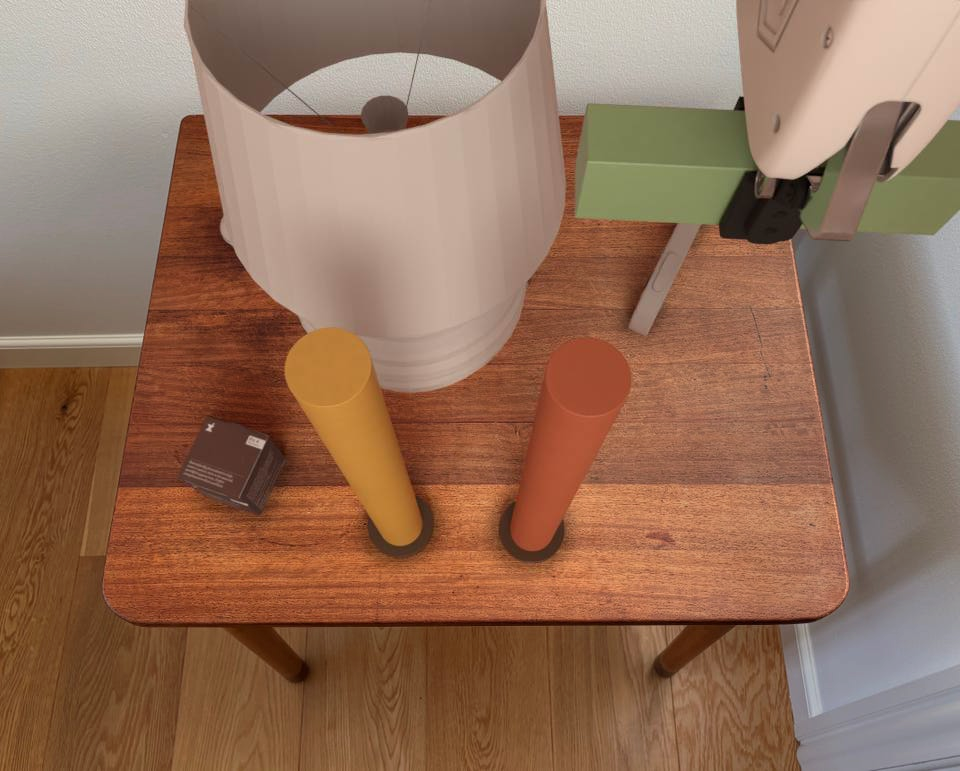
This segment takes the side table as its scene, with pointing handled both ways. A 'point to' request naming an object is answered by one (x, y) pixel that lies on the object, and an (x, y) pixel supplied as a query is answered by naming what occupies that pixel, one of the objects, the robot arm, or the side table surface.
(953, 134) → the green bar
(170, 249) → the side table surface
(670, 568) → the side table surface
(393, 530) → the ochre rod
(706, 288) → the side table surface
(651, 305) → the grey flat slab
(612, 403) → the terracotta rod
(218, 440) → the box
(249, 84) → the table lamp
